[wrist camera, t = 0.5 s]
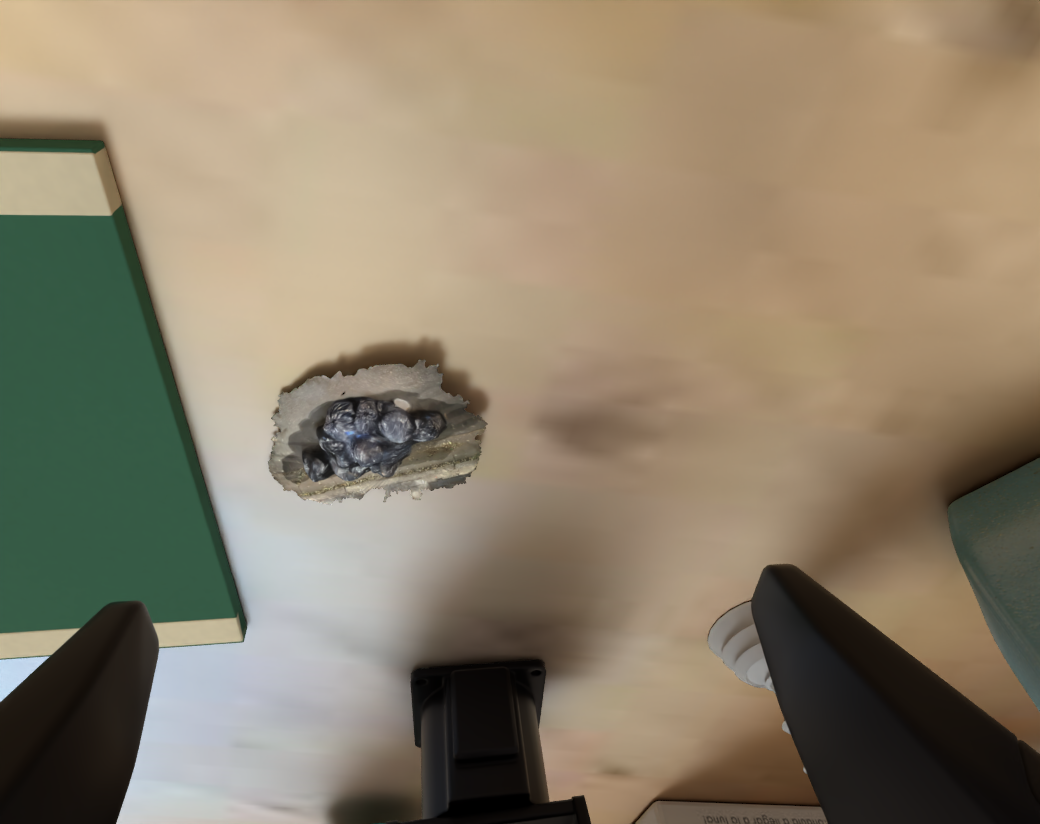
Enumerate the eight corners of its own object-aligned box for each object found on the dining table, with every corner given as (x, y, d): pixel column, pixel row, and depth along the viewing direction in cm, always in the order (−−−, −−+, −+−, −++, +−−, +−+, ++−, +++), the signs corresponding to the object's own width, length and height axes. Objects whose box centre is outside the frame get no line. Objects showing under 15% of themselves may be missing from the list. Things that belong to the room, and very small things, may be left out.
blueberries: (517, 444, 25) (524, 478, 23) (347, 540, 27) (343, 578, 25) (403, 310, 21) (403, 341, 19) (215, 433, 23) (200, 470, 21)
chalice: (690, 598, 31) (923, 1169, 17) (831, 569, 32) (1182, 1114, 17) (690, 683, 36) (875, 1194, 21) (814, 658, 36) (1082, 1151, 21)
